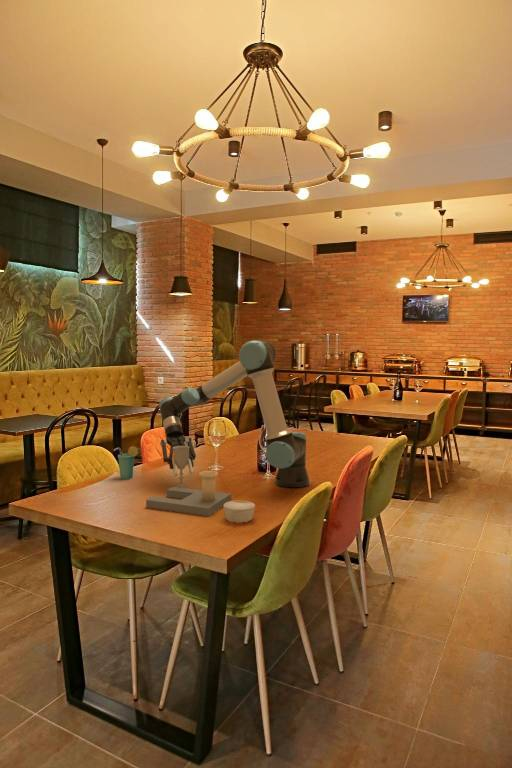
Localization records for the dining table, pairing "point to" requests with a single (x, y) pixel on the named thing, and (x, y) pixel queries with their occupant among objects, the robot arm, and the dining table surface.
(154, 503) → the notched board
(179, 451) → the chalice
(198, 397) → the robot arm
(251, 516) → the ramekin
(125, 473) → the cup
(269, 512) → the dining table surface
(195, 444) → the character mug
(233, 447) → the dining table surface
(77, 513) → the dining table surface
